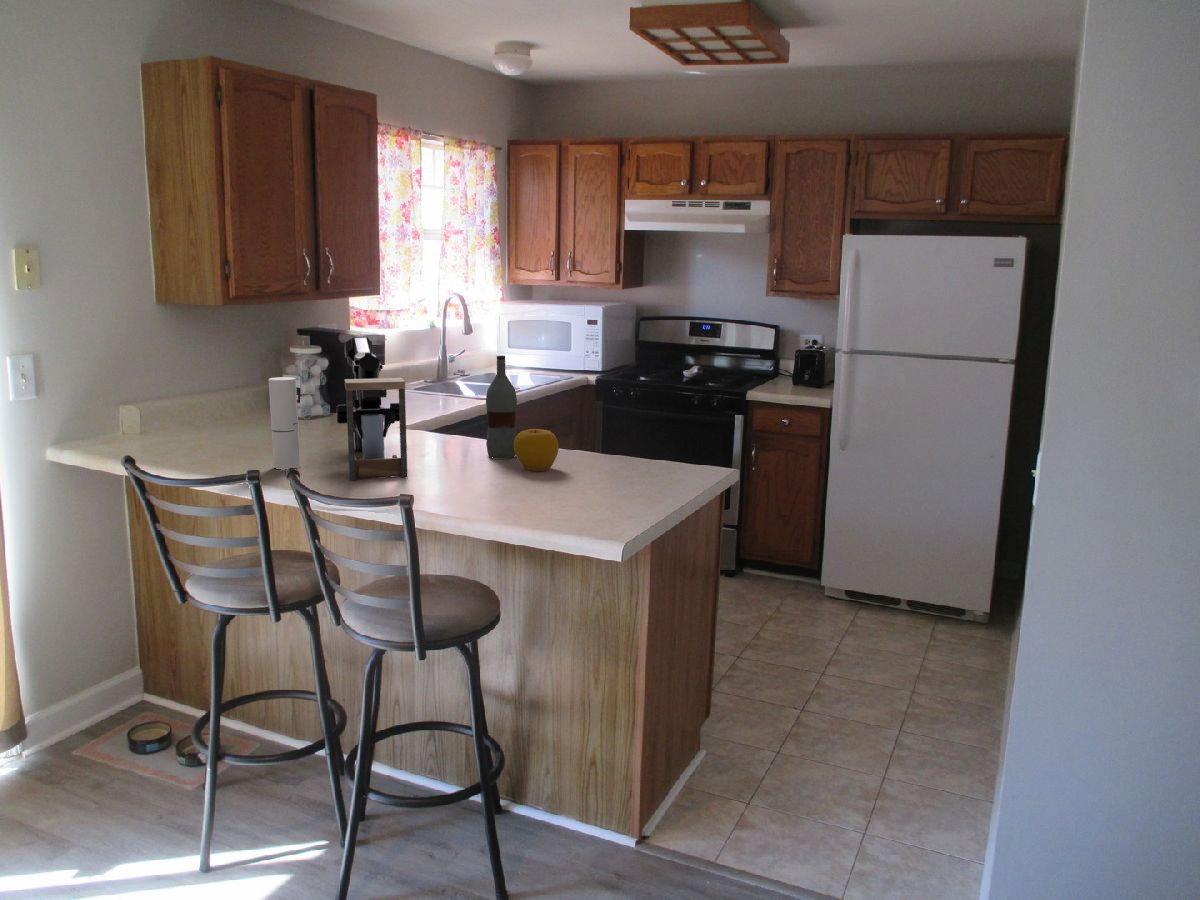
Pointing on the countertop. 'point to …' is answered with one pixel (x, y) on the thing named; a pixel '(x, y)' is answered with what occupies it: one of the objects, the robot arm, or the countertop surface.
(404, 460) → the shelf bay
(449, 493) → the countertop surface
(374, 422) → the blue-grey tall cylinder
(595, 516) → the countertop surface
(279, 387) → the cylindrical container
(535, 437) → the apple
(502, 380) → the bottle
